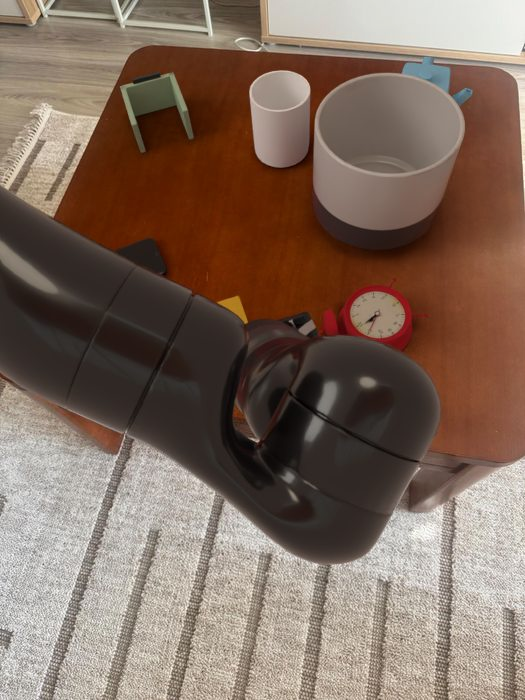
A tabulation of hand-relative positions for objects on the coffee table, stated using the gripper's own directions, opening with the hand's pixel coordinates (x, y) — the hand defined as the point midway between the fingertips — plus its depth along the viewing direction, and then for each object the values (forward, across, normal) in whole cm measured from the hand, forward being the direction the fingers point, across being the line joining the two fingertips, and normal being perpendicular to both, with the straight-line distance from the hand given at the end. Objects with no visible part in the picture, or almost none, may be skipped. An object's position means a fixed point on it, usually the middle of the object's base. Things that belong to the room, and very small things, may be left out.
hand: (243, 339), depth 58 cm
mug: (+39, -24, -19) cm, 49 cm away
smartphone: (+29, +12, -13) cm, 34 cm away
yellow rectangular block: (+17, +1, +4) cm, 18 cm away
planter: (+26, -29, -3) cm, 39 cm away
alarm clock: (+14, -16, +10) cm, 24 cm away
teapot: (+35, -46, -12) cm, 59 cm away
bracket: (+47, -7, -33) cm, 58 cm away
